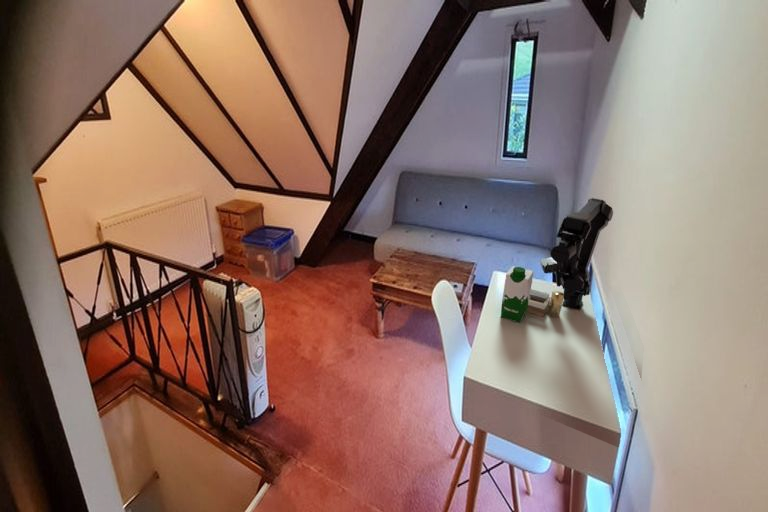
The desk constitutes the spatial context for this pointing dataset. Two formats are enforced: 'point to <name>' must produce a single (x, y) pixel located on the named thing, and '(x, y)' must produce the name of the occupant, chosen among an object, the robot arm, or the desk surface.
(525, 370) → the desk surface
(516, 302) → the milk carton
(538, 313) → the socket block
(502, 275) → the desk surface
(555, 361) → the desk surface
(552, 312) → the peg
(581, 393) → the desk surface
